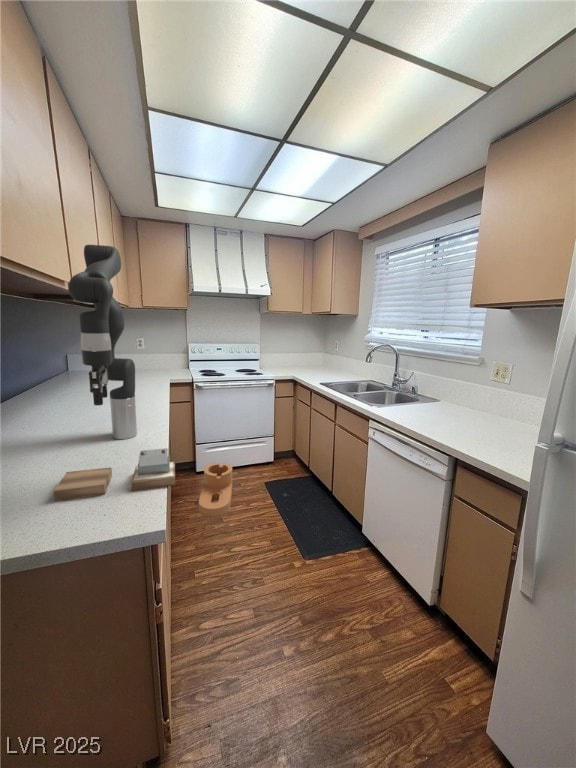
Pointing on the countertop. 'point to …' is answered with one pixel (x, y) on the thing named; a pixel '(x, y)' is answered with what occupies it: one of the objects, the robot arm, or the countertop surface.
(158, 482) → the stand
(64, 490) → the stand
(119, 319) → the robot arm
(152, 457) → the block
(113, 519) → the countertop surface
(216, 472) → the bracket
